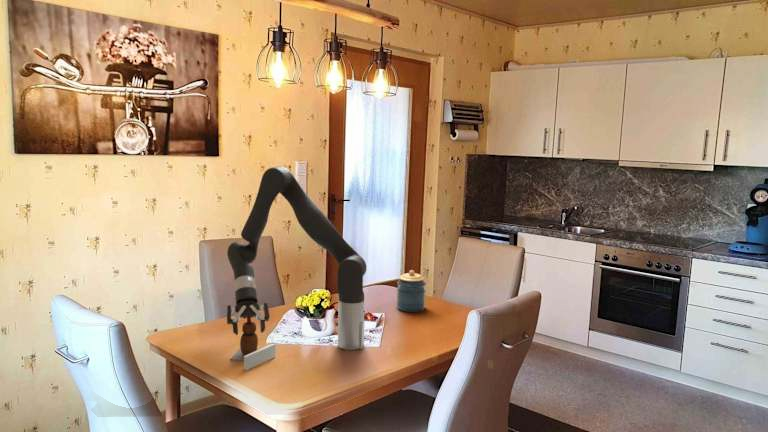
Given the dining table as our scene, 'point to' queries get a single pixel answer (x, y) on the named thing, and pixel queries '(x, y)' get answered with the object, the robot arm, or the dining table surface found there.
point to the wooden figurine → (248, 337)
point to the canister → (411, 292)
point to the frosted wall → (259, 356)
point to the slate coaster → (238, 356)
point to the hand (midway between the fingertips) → (249, 332)
